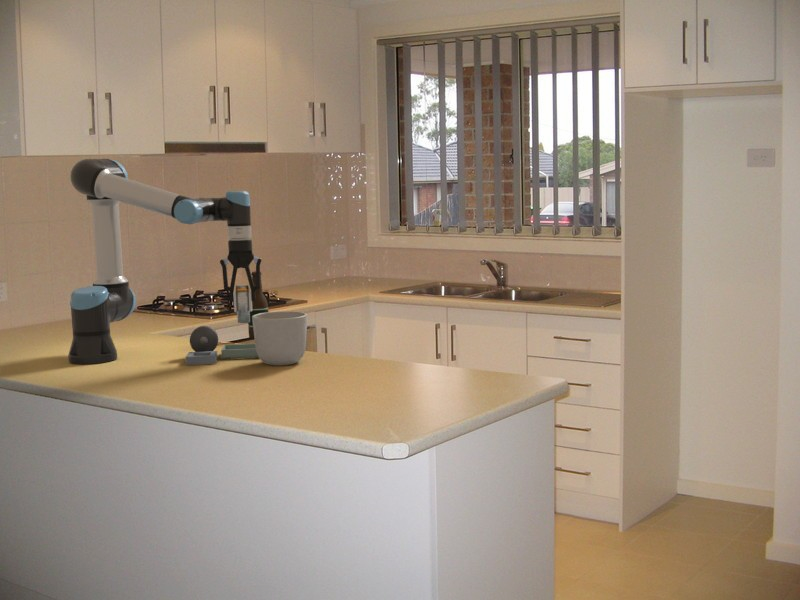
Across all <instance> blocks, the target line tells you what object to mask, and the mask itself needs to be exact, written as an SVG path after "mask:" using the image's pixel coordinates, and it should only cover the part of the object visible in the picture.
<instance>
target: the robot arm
mask: <svg viewBox="0 0 800 600" xmlns="http://www.w3.org/2000/svg"><path fill="white" fill-rule="evenodd" d="M128 175H129V174H128V172H127V170H126V168H125V166H124V165H122V164H121V163H120V162H118V161H117V160H115V159H110V158H84V159H81V160H79V161H78V162H75V164H74V165H73V167H72V169H71V171H70V175H69V176H70V183H71V185H72V187H73V188H74V189H75V191H76V192H78V193H80V194H82V195H84V196H85V195H86V202H88V203H89V204H90V205H91V208H92V210H91V212H92V224H93V225H92V227H93V239H94V253H95V255H94V256H95V270H96V278H95V279H94V281H92V286H91V285H90V286H89V285H88V286H86V287H81V288H77V289H74V290H73V291H71V294H70V304H69V305H70V311H71V312H70V314H71V315H70V316H71V327H72V328H71V329H72V341H71V343H70V348H69V352H68V362H69V363H71V364H77V365H78V364H79V365H89V364H91V365H93V364H100V363H107V362H111V361H115V360H117V359H118V351H117V349H116V345H115V343H114V341H113V338H112V335H111V323H114V322H120V321H123V320H124V319H126V318H128V317H129V316H130V315H131V314H133V312H134V310H135V308H136V303H137V298H136V295H135V292H134V291H133V290H132V288H130V285H129V280H128V279H127V278H126V277H125V275H124V266H123V251H122V250H123V249H122V235H121V233H122V232H121V220H120V204H121V203H123V204H127V205H130V206H134V207H136V208H141V209H144V210H146V211H149V212H152V213H157V214H159V215H162V216H165V217H169V218H173V219H176V220H177V221H178V222H179V223H181V224H183V225H193V224H197V223H199V224H200V223H207V222H226V224H227V225H226V226H227V238H228V239H229V240H228V241H227V245H228V255H227V257H225V258H221V259H220V260H219V264H220V265H221V268H222V280H223V281H222V282H223V289H224V291H228V292H229V300H230V302H231V303H233V310H234V313H237V299H236V290H235V287H236V280H237V279H236V278H237V273H238V269H245V273H246V277H247V280H248V286H249V310H250V311H252V301H255V290H257V289H259V288H260V272H261V264H262V261H263V260H262V258H261V257H257V256H255V255H254V253H253V240H252V239H251V238H252V235H253V234H252V223H251V222H252V221H251V217H252V216H251V199H250V198H251V197H250V194H249V192H248V190H233V191H232V190H231V191H230V190H229V191H226V192H225V196H224V197H196V198H192V197H188V196H184V195H181V194H178V193H175V192H171V191H169V190H165V189H162V188H159V187H156V186H152V185H150V184H145V183H142V182H139V181H137V180H133V179H130V178H129V176H128ZM228 261H229V263H230V264H231V265H232V267H233V269H232V274H231V280H230V286H229V280H228V279H229V278H228V267H227V265H228V264H229V263H228ZM252 262H254V264H255V271H256V286H254V283H253V279H252V275H251V274H252V272H251V269H250V265H251V263H252Z"/></svg>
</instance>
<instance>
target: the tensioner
mask: <svg viewBox="0 0 800 600" xmlns="http://www.w3.org/2000/svg"><path fill="white" fill-rule="evenodd" d="M218 343H219V335H218V333H217V331H216V330H215V329H214V328H213V327H211V326H208V325H200V326H198V327H196V328H194V330H193V331H192V333H191V334H190V336H189V345H190V347H191V349H192V350H193V351H189V352H188V353H187V354H186V356H185V365H186V366H195V365H196V364H201V365H215V364H216V363H217V361H218V359H219V358H218V350H216V348H217V346H218ZM217 358H218V359H217ZM214 363H215V364H214Z"/></svg>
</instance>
